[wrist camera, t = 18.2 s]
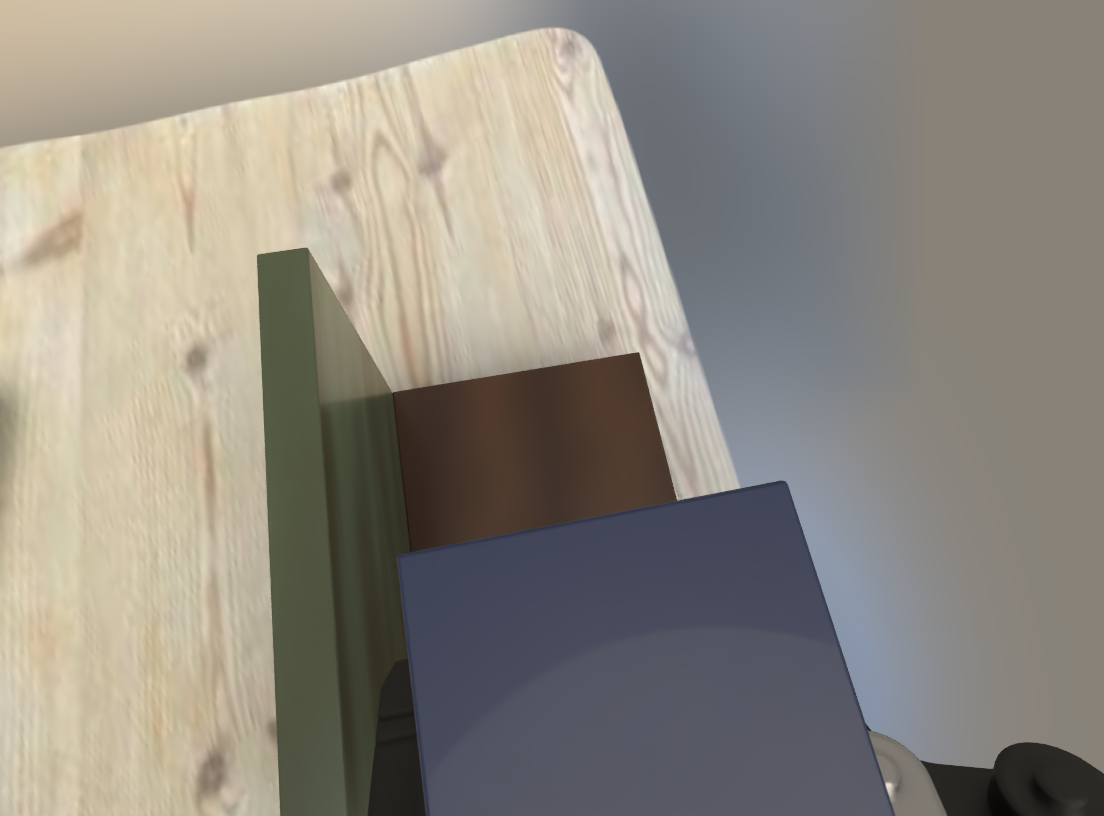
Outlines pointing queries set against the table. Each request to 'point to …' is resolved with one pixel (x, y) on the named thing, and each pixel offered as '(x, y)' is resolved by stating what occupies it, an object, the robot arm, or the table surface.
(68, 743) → the table surface
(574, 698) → the navy block
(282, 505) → the shelf
